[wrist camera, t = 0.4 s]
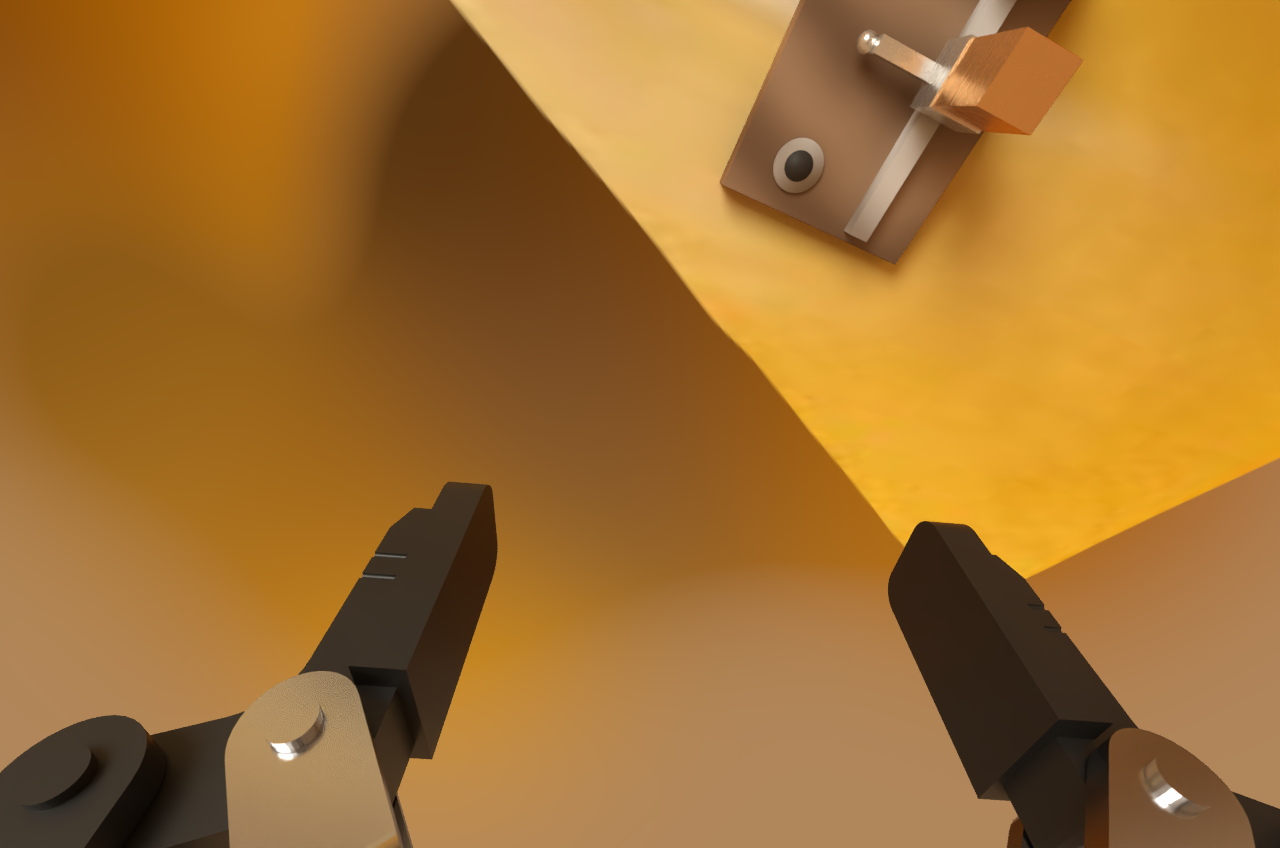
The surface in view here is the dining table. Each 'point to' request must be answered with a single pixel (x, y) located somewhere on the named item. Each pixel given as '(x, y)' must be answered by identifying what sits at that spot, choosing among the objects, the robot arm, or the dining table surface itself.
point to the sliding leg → (982, 78)
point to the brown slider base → (862, 117)
